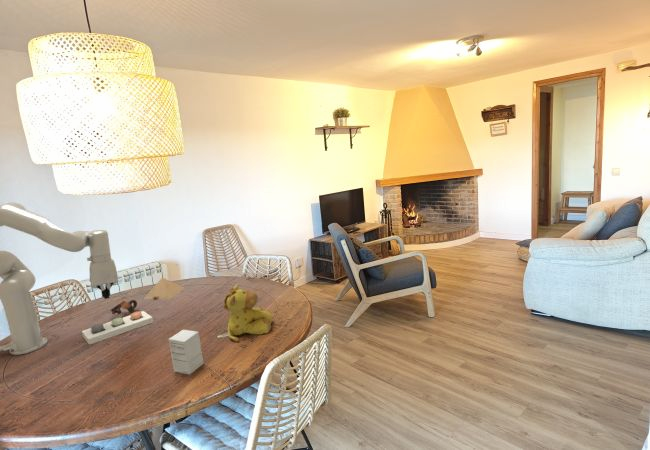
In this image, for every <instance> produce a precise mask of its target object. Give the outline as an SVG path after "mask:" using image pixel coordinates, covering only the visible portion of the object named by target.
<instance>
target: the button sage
mask: <svg viewBox="0 0 650 450" xmlns="http://www.w3.org/2000/svg"><path fill="white" fill-rule="evenodd" d="M110 322H112V325H113V326H114V327H117V326H120V325H122V323H123V322H124V321H123V317H115V318H113V319H112V320H111V321H110Z"/></svg>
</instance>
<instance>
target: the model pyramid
mask: <svg viewBox="0 0 650 450" xmlns="http://www.w3.org/2000/svg"><path fill="white" fill-rule="evenodd" d="M185 289H186V287H184V286H182V285H179V284H177V283H176V282H174V281H171V280H168V279H166V278H165V277H161V278H160V279H159V281H158V282H157V283H156V284H155V285H154V286H153V287H152V288H151V290H149V292H147V294H146V295H145V296H144V298H143V300H154V301H155V300H170V299H172V298H173V297H174V296H176V295H178V294H179V293H181V292H182V291H183V290H185Z"/></svg>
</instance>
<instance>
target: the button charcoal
mask: <svg viewBox="0 0 650 450" xmlns="http://www.w3.org/2000/svg"><path fill="white" fill-rule="evenodd" d="M103 324H104V323H98V324H94V325H92V326H91V327H90V328H91V330H92V332H93V333H94V334H96V333H99V332H102V330H103V329H104V326H103Z"/></svg>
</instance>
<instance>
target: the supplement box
mask: <svg viewBox="0 0 650 450" xmlns="http://www.w3.org/2000/svg"><path fill="white" fill-rule="evenodd" d="M168 344H169V350H170V355H171V356H170V357H171V362H172V367H173V371H174V372H175V373H178V374H185V375H188V376H189V375H192V374H193V373H194V372H195V371H196V370H197V369H199V368H200V367H202V365H203V364H204V357H203V353H202V345H201V340H200V333H199V331H195V330H187V329H182V330H180V331H179V332H177V333H176V334H174V335H173V336H171V337H169V338H168Z"/></svg>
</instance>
